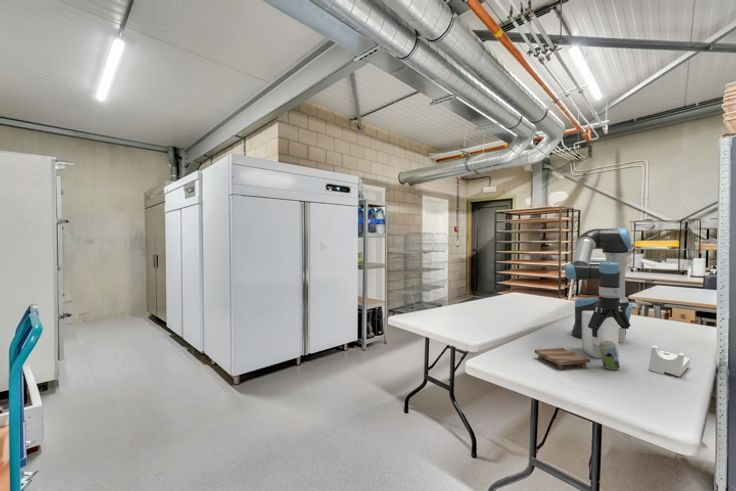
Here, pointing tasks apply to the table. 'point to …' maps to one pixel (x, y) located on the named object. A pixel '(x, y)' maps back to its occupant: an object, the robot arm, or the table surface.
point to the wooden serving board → (562, 357)
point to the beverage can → (609, 355)
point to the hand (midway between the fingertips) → (609, 343)
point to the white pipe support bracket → (668, 362)
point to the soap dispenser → (606, 334)
